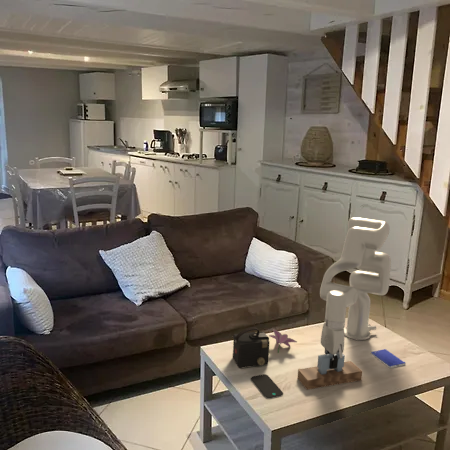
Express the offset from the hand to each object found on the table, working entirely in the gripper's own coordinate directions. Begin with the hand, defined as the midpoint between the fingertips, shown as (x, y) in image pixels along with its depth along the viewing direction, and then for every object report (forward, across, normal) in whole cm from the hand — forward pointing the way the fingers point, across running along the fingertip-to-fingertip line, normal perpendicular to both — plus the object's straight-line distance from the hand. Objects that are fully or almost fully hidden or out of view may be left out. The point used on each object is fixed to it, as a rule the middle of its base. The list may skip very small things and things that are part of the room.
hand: (330, 365), depth 186 cm
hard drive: (+7, -7, +33) cm, 34 cm away
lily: (+7, -28, -8) cm, 29 cm away
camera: (+6, -21, -25) cm, 33 cm away
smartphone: (+7, -2, -26) cm, 27 cm away
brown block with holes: (+6, 0, 0) cm, 6 cm away
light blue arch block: (+5, 0, 0) cm, 5 cm away
